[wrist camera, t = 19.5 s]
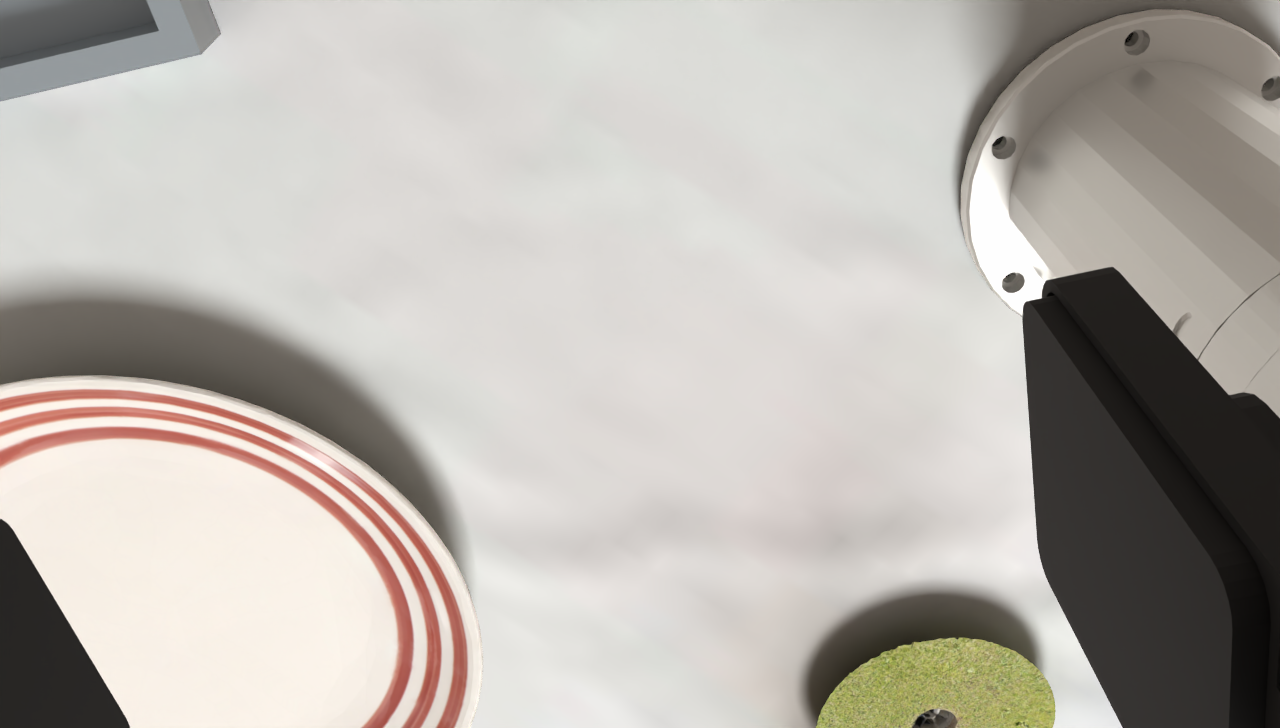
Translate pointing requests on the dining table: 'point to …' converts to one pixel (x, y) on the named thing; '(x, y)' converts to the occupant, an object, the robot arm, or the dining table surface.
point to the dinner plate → (233, 561)
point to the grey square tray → (95, 39)
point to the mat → (942, 689)
